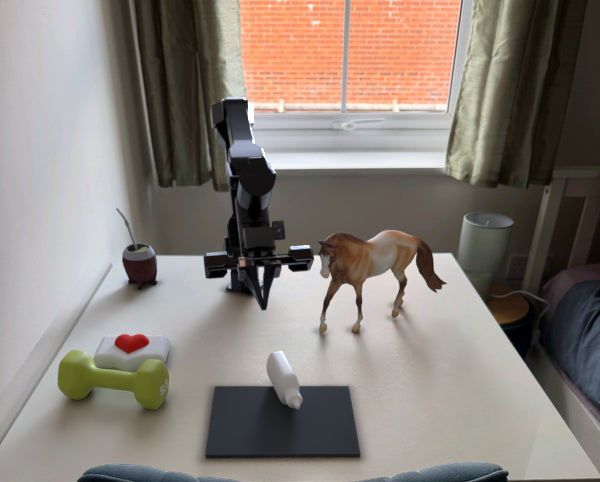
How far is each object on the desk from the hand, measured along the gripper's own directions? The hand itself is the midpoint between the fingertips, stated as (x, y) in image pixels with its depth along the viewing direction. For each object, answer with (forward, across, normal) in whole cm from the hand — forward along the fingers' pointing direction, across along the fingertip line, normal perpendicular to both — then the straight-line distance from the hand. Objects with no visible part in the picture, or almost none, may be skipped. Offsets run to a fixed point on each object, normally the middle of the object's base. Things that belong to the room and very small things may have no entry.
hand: (264, 309), depth 102 cm
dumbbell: (+13, -25, -2) cm, 28 cm away
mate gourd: (-17, -23, +29) cm, 41 cm away
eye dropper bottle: (+10, +1, -3) cm, 11 cm away
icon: (+6, -23, +6) cm, 25 cm away
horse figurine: (+2, +24, +12) cm, 26 cm away
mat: (+20, 0, -8) cm, 22 cm away
